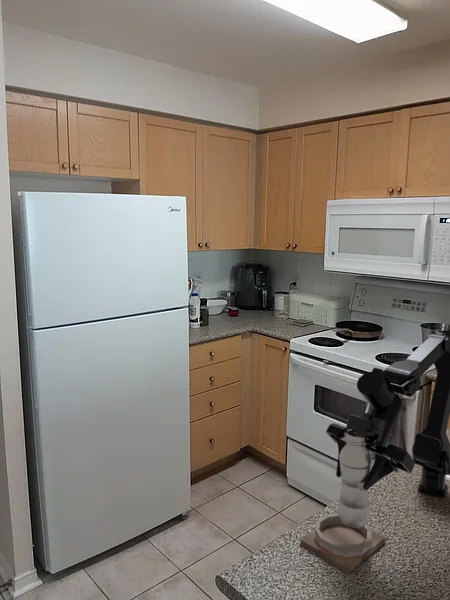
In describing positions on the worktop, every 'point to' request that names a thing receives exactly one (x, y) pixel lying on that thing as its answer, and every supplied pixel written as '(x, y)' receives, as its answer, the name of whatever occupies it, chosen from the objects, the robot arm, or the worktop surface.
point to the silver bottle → (354, 481)
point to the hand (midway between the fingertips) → (350, 482)
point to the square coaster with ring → (341, 542)
